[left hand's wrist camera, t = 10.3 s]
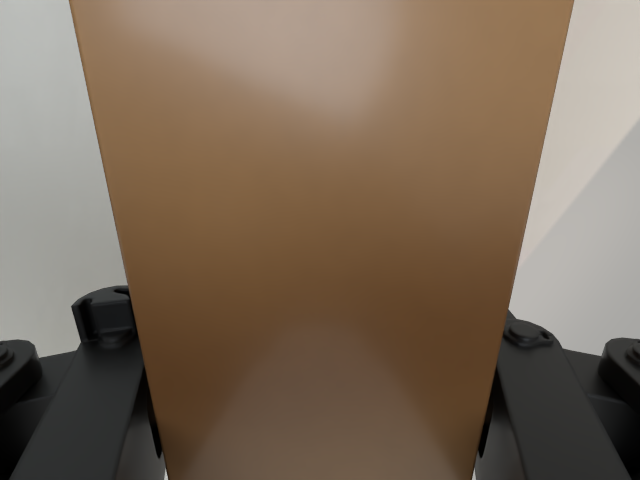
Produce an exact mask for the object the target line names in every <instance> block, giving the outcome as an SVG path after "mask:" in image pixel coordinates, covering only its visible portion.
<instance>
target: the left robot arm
mask: <svg viewBox="0 0 640 480" xmlns="http://www.w3.org/2000/svg"><path fill="white" fill-rule="evenodd" d="M71 308H72V311H73V315H74V318H75V322H76V325H77V329H78V332H79V336H80V340H81V343H80V345H79V347H78V349H77V350H76V351H72V352H68V353H62V354H57V355H52V356H47V357H42V358H39V357H38V354H37V351H36V348H35V345H33V344H32V343H31V342H29V341H25V340H9V341H0V480H164V476H165V468H166V466H165V461H164V456H163V452H162V447H161V442H160V437H159V432H158V427H157V423H156V418H155V413H154V408H153V403H152V399H151V394H150V389H149V384H148V379H147V375H146V370H145V365H144V360H143V355H142V350H141V346H140V341H139V336H138V331H137V326H136V322H135V317H134V312H133V307H132V302H131V297H130V293H129V288H128V286H113V287H108V288H103V289H100V290H97V291H94V292H91V293H89V294H87V295H85V296H83V297H81V298H80V299H78V300H77V301H76V302H75V303H74V304H73V305H72V306H71ZM475 475H476V480H640V339H630V338H616V339H611V340H610V341H608V342H607V343H606V344H605V347H604V350H603V353H602V356H597V355H592V354H587V353H581V352H576V351H571V350H567V349H563V348H562V346H561V345H560V343H559V341H558V340H557V339H556V338H555V336H554V335H553V334H552V333H550V332H549V331H547V330H546V329H544V328H543V327H541V326H538V325H536V324H533V323H531V322H528V321H523V320H519V319H516V318H515V317H514V316H513V314H512V313H511V312H510V311H509V310H508V312H507V317H506V322H505V326H504V331H503V336H502V340H501V345H500V350H499V354H498V359H497V364H496V368H495V373H494V378H493V383H492V387H491V392H490V397H489V401H488V406H487V411H486V415H485V420H484V425H483V429H482V434H481V439H480V443H479V448H478V453H477V457H476V462H475Z"/></svg>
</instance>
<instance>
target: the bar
mask: <svg viewBox="0 0 640 480" xmlns="http://www.w3.org/2000/svg"><path fill="white" fill-rule="evenodd" d="M573 3H574V0H69V4H70V9H71V13H72V18H73V23H74V28H75V33H76V37H77V42H78V47H79V52H80V57H81V61H82V66H83V71H84V76H85V81H86V86H87V90H88V95H89V100H90V105H91V110H92V114H93V119H94V124H95V129H96V134H97V139H98V143H99V148H100V153H101V158H102V163H103V167H104V172H105V177H106V182H107V187H108V192H109V196H110V201H111V206H112V211H113V216H114V220H115V225H116V230H117V235H118V240H119V244H120V249H121V254H122V259H123V264H124V269H125V273H126V278H127V283H128V288H129V293H130V297H131V302H132V307H133V312H134V317H135V322H136V326H137V331H138V336H139V341H140V346H141V350H142V355H143V360H144V365H145V370H146V375H147V379H148V384H149V389H150V394H151V399H152V403H153V408H154V413H155V418H156V423H157V427H158V432H159V437H160V442H161V447H162V452H163V456H164V461H165V466H166V471H167V476H168V480H472V476H473V471H474V467H475V462H476V457H477V453H478V448H479V443H480V439H481V434H482V429H483V425H484V420H485V415H486V411H487V406H488V401H489V397H490V392H491V387H492V383H493V378H494V373H495V368H496V364H497V359H498V354H499V350H500V345H501V340H502V336H503V331H504V326H505V322H506V317H507V312H508V308H509V303H510V298H511V294H512V289H513V284H514V280H515V275H516V270H517V266H518V261H519V256H520V252H521V247H522V242H523V237H524V233H525V228H526V223H527V219H528V214H529V209H530V205H531V200H532V195H533V191H534V186H535V181H536V177H537V172H538V167H539V163H540V158H541V153H542V149H543V144H544V139H545V135H546V130H547V125H548V120H549V116H550V111H551V106H552V102H553V97H554V92H555V88H556V83H557V78H558V74H559V69H560V64H561V60H562V55H563V50H564V46H565V41H566V36H567V32H568V27H569V22H570V18H571V13H572V8H573Z"/></svg>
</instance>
